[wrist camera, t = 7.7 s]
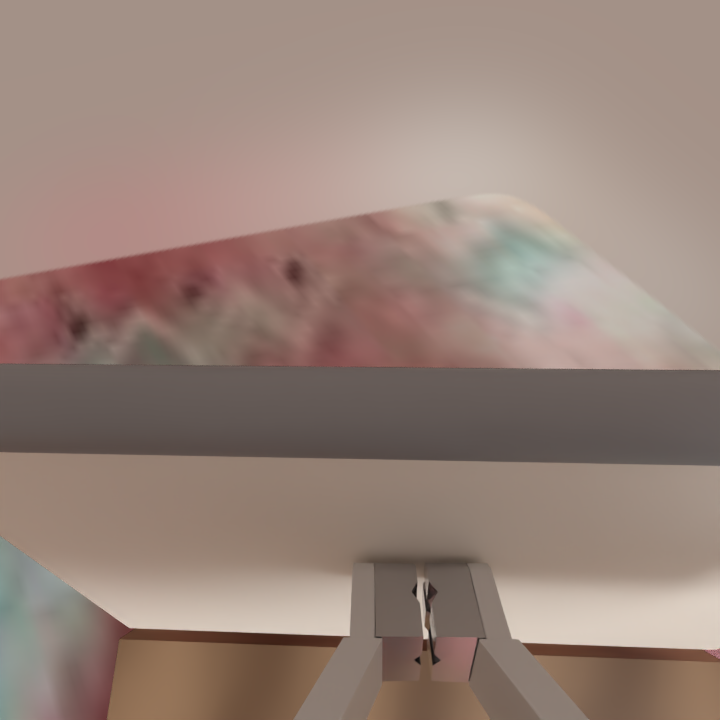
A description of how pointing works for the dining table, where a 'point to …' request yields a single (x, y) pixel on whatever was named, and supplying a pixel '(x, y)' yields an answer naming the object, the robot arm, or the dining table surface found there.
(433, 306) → the dining table surface
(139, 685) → the brown flat block
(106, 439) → the panel
